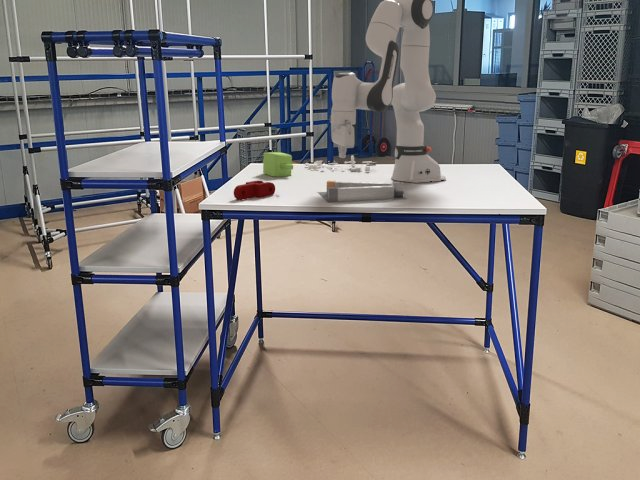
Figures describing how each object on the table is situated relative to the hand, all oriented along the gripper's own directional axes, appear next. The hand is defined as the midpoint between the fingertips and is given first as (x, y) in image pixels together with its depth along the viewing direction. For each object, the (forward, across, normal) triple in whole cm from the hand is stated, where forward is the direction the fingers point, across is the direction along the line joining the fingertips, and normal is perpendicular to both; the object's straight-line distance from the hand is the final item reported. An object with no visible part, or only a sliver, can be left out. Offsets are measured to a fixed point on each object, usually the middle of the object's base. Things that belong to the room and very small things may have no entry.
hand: (342, 157), depth 212 cm
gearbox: (+14, +46, +16) cm, 50 cm away
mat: (+13, -10, -5) cm, 17 cm away
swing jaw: (+12, -8, -4) cm, 15 cm away
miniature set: (+13, +54, -13) cm, 57 cm away
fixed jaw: (+12, -16, -5) cm, 21 cm away
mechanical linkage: (+14, +1, +33) cm, 36 cm away
